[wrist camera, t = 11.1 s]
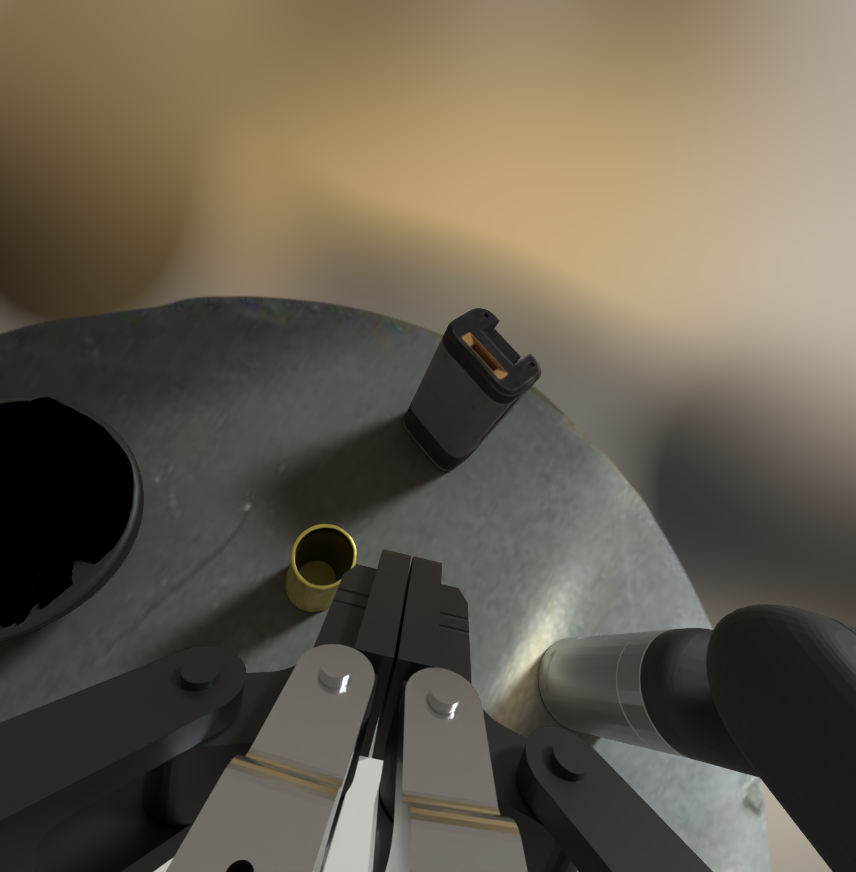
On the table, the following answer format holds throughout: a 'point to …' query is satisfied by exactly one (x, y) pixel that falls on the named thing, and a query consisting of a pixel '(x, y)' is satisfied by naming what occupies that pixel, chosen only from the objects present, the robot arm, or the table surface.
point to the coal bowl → (60, 509)
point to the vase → (319, 566)
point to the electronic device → (467, 389)
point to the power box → (352, 820)
